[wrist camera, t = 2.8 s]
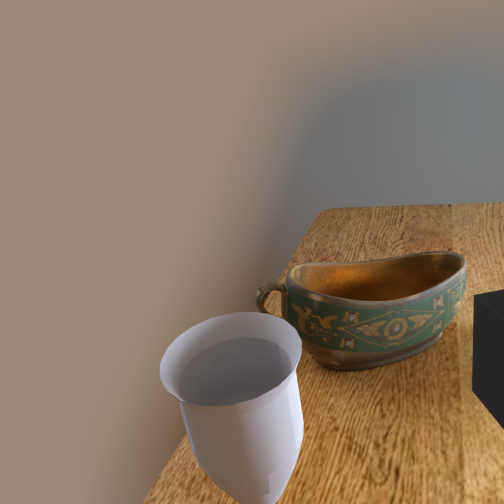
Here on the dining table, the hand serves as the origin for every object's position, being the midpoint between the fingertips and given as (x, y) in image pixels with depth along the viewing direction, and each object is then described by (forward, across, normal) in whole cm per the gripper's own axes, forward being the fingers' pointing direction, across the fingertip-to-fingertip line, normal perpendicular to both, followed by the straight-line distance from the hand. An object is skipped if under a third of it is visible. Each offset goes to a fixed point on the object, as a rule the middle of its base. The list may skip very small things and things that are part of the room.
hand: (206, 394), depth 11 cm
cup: (+33, +13, -24) cm, 43 cm away
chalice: (+10, 0, -24) cm, 26 cm away
